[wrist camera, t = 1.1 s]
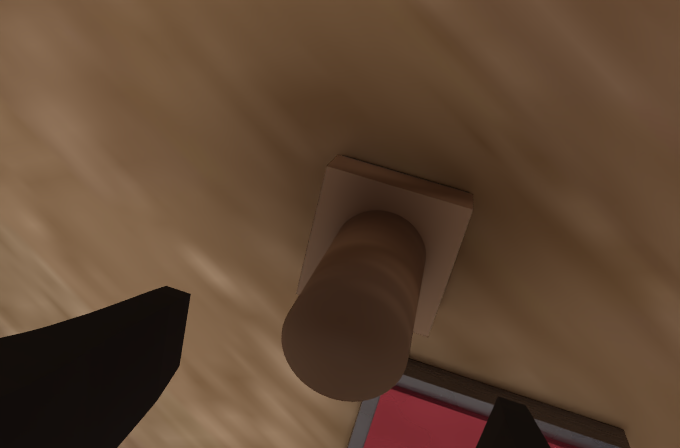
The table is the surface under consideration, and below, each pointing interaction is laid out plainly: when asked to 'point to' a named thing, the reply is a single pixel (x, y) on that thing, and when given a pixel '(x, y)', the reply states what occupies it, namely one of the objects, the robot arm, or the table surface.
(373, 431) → the ink pad
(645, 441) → the table surface
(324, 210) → the stamp
